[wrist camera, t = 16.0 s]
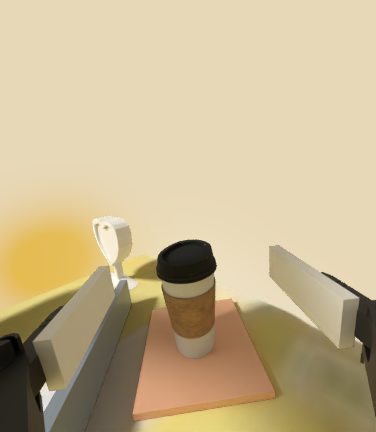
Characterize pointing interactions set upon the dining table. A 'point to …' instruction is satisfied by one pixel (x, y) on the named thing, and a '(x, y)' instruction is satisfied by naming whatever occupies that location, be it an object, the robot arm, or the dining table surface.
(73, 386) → the gray rectangular board
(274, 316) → the dining table surface
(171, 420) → the dining table surface
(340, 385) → the dining table surface
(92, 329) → the robot arm
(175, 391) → the terracotta tile
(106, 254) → the heart sculpture
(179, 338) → the coffee cup
